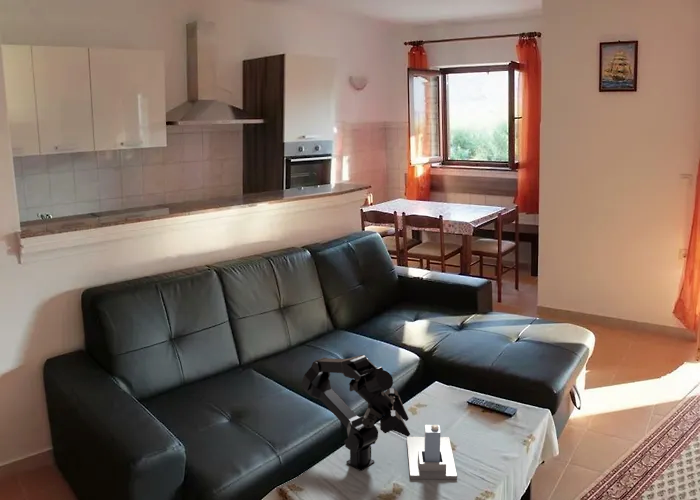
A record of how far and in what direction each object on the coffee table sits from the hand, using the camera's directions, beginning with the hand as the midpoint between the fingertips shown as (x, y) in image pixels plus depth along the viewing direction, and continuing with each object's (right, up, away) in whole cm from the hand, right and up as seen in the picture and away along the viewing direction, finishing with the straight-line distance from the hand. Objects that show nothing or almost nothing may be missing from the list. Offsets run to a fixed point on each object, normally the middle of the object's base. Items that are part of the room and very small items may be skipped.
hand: (408, 427), depth 199 cm
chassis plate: (+8, -12, +7) cm, 16 cm away
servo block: (+7, -12, +3) cm, 14 cm away
